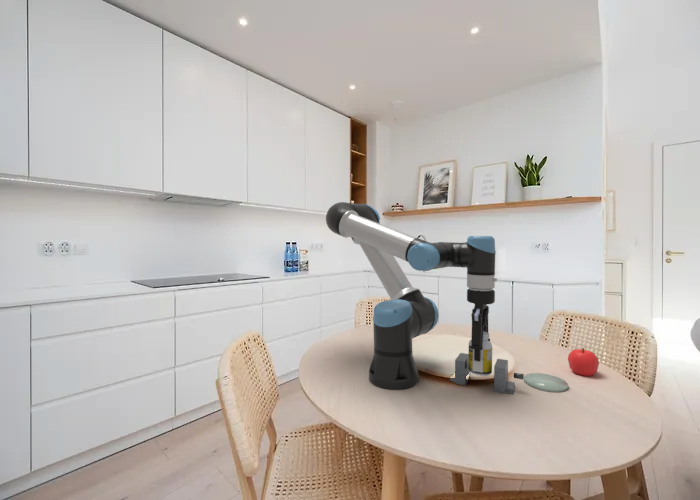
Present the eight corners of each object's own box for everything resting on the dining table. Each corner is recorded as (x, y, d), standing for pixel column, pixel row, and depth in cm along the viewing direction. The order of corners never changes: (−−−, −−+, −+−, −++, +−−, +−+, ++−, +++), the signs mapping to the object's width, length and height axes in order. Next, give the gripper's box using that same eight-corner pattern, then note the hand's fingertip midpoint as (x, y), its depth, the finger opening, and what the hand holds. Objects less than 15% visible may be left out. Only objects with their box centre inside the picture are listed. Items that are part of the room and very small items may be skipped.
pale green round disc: (522, 386, 94) (522, 384, 94) (525, 373, 103) (525, 370, 103) (569, 395, 88) (569, 392, 88) (567, 380, 98) (567, 377, 98)
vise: (449, 382, 98) (448, 358, 98) (454, 373, 104) (454, 351, 103) (522, 397, 88) (522, 371, 87) (524, 387, 94) (524, 362, 93)
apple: (567, 375, 101) (567, 349, 101) (567, 366, 108) (567, 342, 108) (600, 380, 97) (600, 353, 97) (598, 371, 104) (598, 346, 103)
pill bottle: (463, 369, 99) (463, 330, 98) (481, 366, 101) (482, 328, 100) (478, 378, 92) (478, 337, 92) (497, 374, 94) (497, 334, 94)
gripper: (489, 295, 85) (488, 382, 86) (499, 285, 102) (498, 358, 103) (459, 292, 89) (459, 376, 90) (473, 283, 106) (473, 354, 107)
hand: (480, 366), depth 96 cm, fingers closed on pill bottle, 6 cm apart
